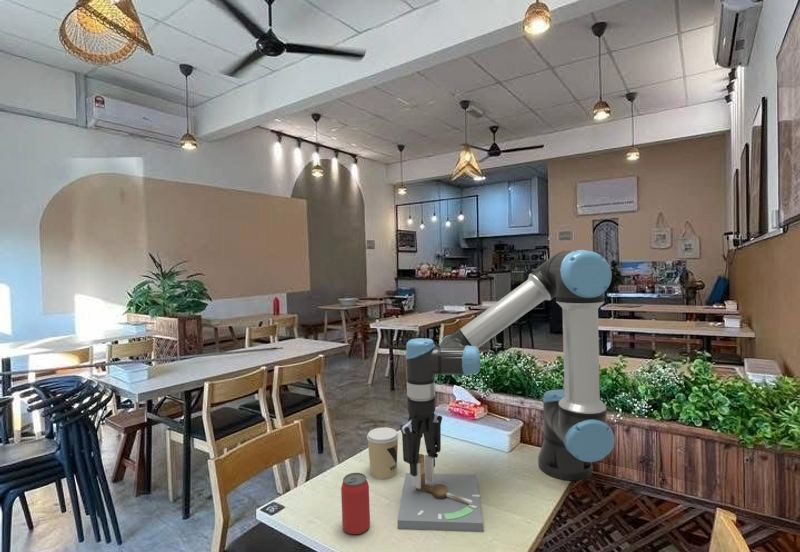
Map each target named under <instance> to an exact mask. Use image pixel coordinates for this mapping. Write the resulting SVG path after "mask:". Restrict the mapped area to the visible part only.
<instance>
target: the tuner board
mask: <svg viewBox="0 0 800 552" xmlns="http://www.w3.org/2000/svg"><path fill="white" fill-rule="evenodd" d="M403 481H404V482H403V488H402V493H401V498H400V503H399V510H398V516H397V529H398V530H399V529H402V530H403V529H404V530H431V531H432V530H435V531H437V530H438V531H454V532H455V531H458V532H459V531H462V532H484V521H483V515H482V514H483V513H482V506H481V502H480V498H481V494H479V488H478V481H477V475H476V474H469V473H468V474H462V473H461V474H460V473H459V474H458V473H434V482H430V481H428V480H426V479H425V484H426V485H429V486H432V487H433V486H434V485H437V484H443V485H445V486H447V488H448V493H450V494H453V495H456V496H460V497H463V498H466V499H469V500H472V501H473V503H472V504H469V503H466V502H463V501H460V500H456V499H453V498H450V497H445V498H436V497H434V496H433V494H432V493H430V492H427V491H424V490H417V489H416V487H415V486H413V485H412V475H411V474H410V472H406V473H405V475H404V480H403Z"/></svg>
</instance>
